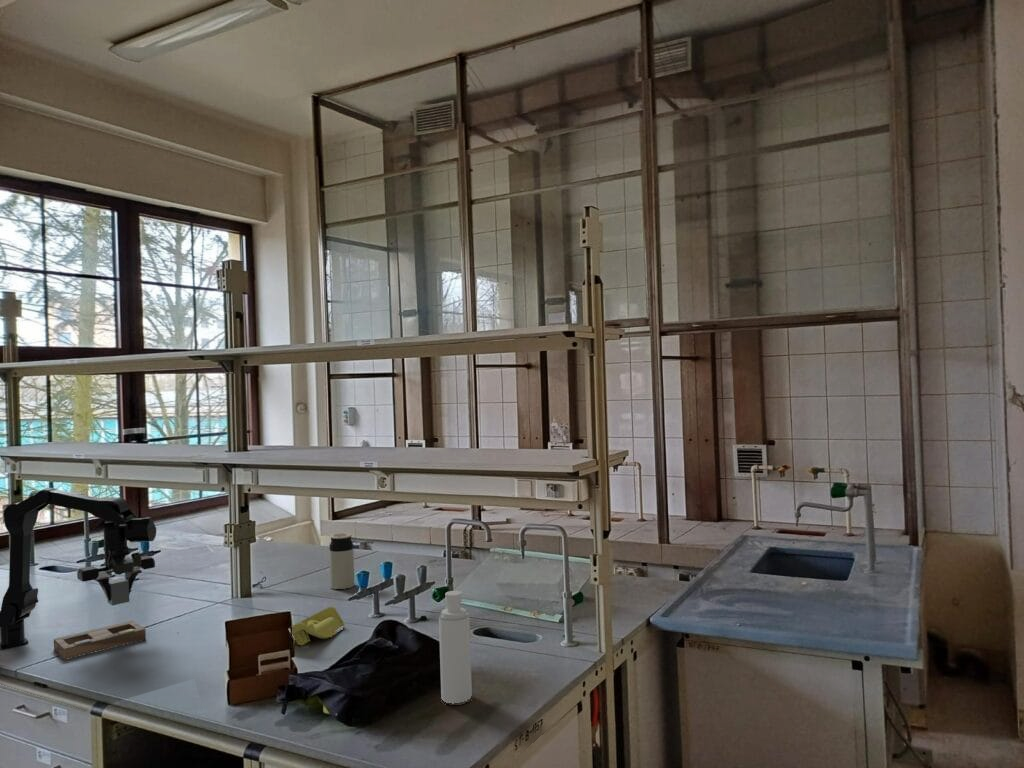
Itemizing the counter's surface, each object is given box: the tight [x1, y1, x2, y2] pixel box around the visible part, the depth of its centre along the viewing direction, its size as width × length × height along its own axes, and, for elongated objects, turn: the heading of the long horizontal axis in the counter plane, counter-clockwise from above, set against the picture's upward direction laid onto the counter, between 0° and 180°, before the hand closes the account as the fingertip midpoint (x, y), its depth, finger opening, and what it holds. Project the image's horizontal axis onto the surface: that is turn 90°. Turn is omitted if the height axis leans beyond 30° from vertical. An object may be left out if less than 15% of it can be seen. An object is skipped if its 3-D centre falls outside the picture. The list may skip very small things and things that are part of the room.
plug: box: [106, 577, 130, 606], centre depth 207 cm, size 4×4×6 cm
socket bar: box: [53, 620, 147, 660], centre depth 203 cm, size 11×20×3 cm, turn 134°
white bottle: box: [438, 590, 473, 704], centre depth 161 cm, size 7×7×25 cm
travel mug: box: [329, 532, 355, 590], centre depth 253 cm, size 8×8×18 cm
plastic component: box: [291, 606, 345, 646], centre depth 203 cm, size 20×7×10 cm
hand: (118, 598), depth 207 cm, fingers closed on plug, 4 cm apart
